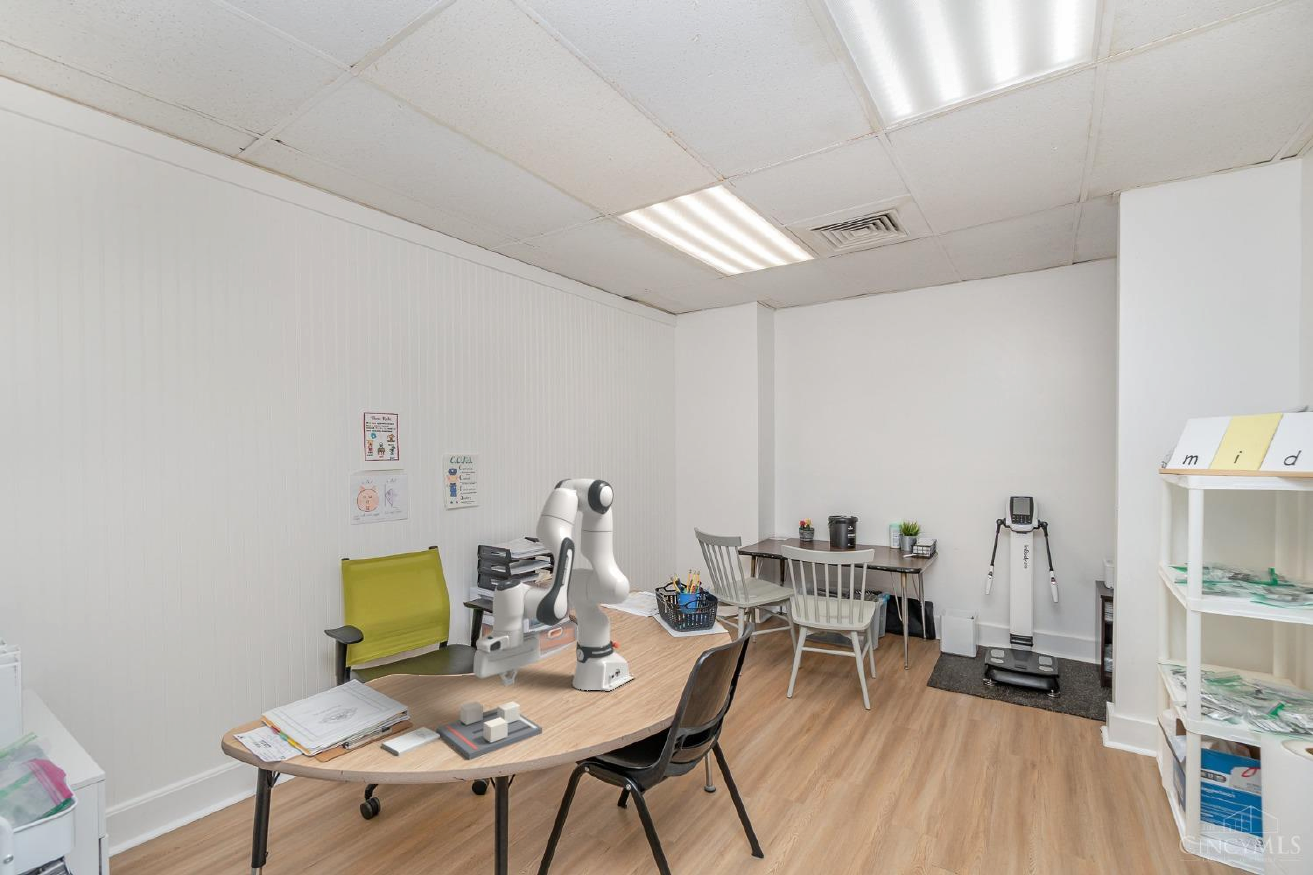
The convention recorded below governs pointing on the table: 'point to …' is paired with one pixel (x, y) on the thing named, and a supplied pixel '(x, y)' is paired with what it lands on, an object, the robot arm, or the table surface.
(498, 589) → the robot arm
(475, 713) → the block
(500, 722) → the block
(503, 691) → the table surface
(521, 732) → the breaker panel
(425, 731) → the external hard drive
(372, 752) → the table surface
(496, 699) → the table surface
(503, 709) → the block
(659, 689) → the table surface
